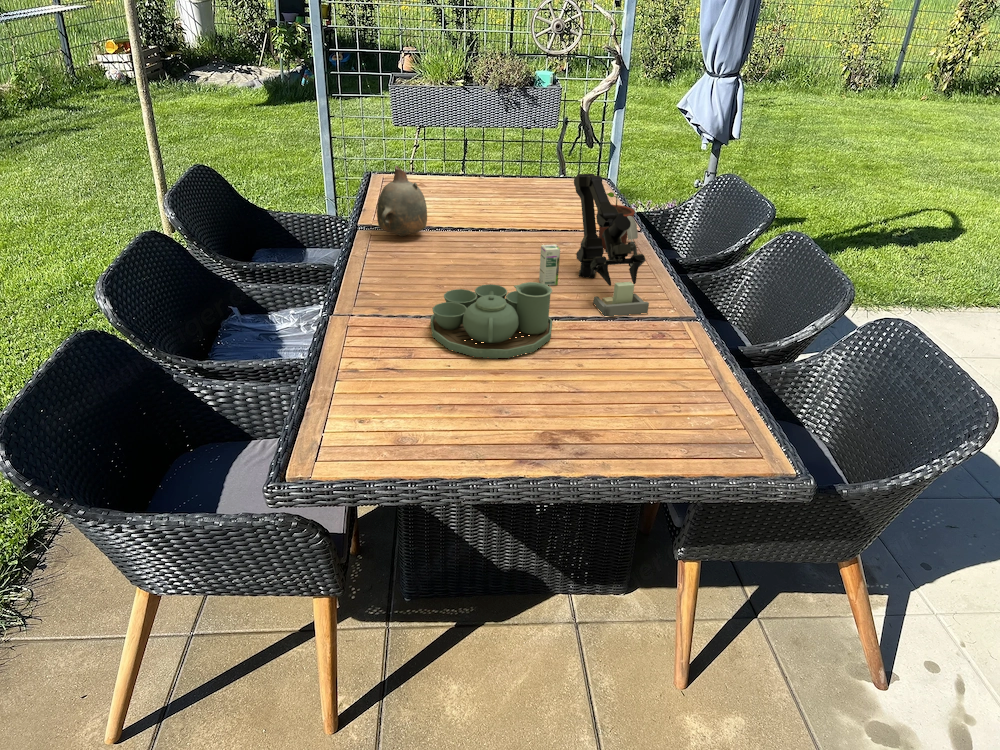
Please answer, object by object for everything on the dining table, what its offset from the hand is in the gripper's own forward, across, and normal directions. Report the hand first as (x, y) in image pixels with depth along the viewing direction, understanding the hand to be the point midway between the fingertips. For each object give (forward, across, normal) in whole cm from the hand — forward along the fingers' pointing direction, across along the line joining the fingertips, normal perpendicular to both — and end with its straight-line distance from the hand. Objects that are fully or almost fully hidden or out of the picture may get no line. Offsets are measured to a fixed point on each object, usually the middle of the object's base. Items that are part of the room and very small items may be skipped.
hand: (622, 284), depth 242 cm
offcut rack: (+7, 0, +6) cm, 9 cm away
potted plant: (-35, +23, +48) cm, 63 cm away
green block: (+8, 0, +5) cm, 9 cm away
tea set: (+13, -49, +1) cm, 51 cm away
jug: (-56, -64, +68) cm, 109 cm away
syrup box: (-12, -18, +25) cm, 33 cm away
